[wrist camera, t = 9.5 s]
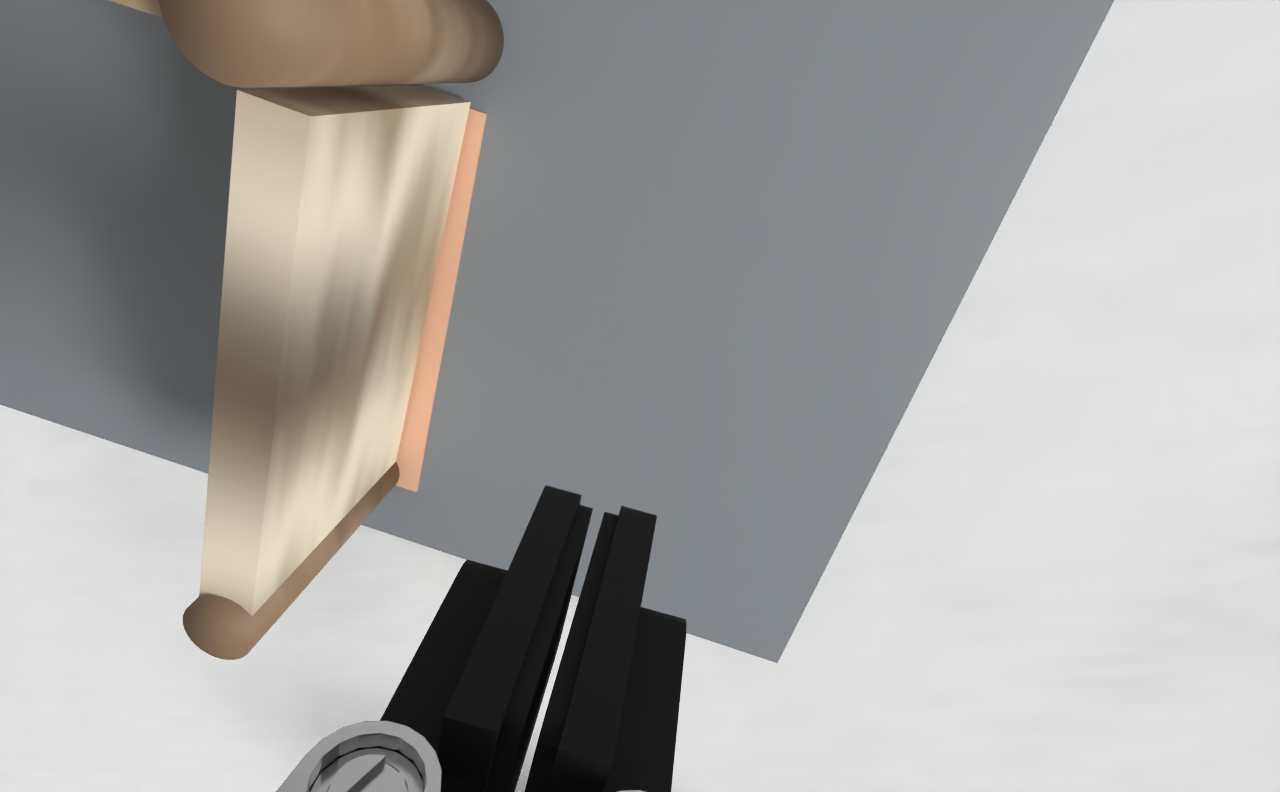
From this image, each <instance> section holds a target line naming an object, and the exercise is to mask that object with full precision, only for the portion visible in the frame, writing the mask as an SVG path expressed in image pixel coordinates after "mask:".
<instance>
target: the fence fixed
mask: <svg viewBox="0 0 1280 792" xmlns="http://www.w3.org/2000/svg"><path fill="white" fill-rule="evenodd" d="M109 1H112V2H115V3H118V4H122V5H125V6H128V7H131V8H134V9H137V10H140V11H143V12H146V13H149V14H152V15H155V16H158V17H161V18H164V21H165V24H166V26H167V28H168V30H169V32H170V34H171V36H172V38H173V40H174V41H175V43H176V45H177V46H178V47H179V49H180V50H181V51H182V53H183V54H184V55H185V56H186V58H187V59H188V60H189V61H190V62H191V63H192V64H193V65H194V66H195V67H197V68H198V69H199V70H200V71H201V72H203V73H204V74H206V75H207V76H209V77H210V78H212V79H214V80H216V81H218V82H220V83H223V84H225V85H229V86H233V87H241V88H259V87H304V86H348V85H393V84H438V83H472V82H477V81H479V80H482V79H484V78H486V77H487V76H488V75H489V74H491V73H492V72H493V70H494V69H495V68H496V66H497V65H498V63H499V61H500V58H501V56H502V52H503V46H504V35H503V29H502V25H501V22H500V19H499V17H498V15H497V13H496V11H495V10H494V8H493V7H492V6H491V4H490V3H489V2H488V1H487V0H109Z"/></svg>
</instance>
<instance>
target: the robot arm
mask: <svg viewBox="0 0 1280 792" xmlns="http://www.w3.org/2000/svg"><path fill="white" fill-rule="evenodd" d="M581 497H582V495H580V494H577V493H573V492H569V491H566V490H562V489H558V488H555V487H551V486H547V485H546V486H545V487H544V489H543V491H542V494H541V496H540V498H539V500H538V503H537V505H536V507H535V510H534V512H533V514H532V516H531V519H530V521H529V523H528V525H527V528H526V530H525V532H524V535H523V537H522V539H521V541H520V544H519V546H518V548H517V551H516V553H515V555H514V557H513V560H512V562H511V564H510V566H509V569H508V570H504V569H500V568H497V567H493V566H489V565H486V564H482V563H478V562H475V561H471V560H467V561H466V562H465V563H464V564H463V566H462V567H461V569H460V571H459V572H458V574H457V576H456V578H455V580H454V582H453V584H452V586H451V588H450V589H449V591H448V593H447V595H446V597H445V599H444V601H443V603H442V605H441V606H440V608H439V610H438V612H437V614H436V616H435V618H434V620H433V622H432V623H431V625H430V627H429V629H428V631H427V633H426V635H425V637H424V639H423V640H422V642H421V644H420V646H419V648H418V650H417V652H416V654H415V656H414V658H413V659H412V661H411V663H410V665H409V667H408V669H407V671H406V673H405V675H404V676H403V678H402V680H401V682H400V684H399V686H398V688H397V690H396V692H395V693H394V695H393V697H392V699H391V701H390V703H389V705H388V707H387V709H386V711H385V712H384V714H383V716H382V718H381V720H380V721H364V722H361V723H357V724H354V725H350V726H346V727H343V728H341V729H339V730H338V731H336V732H334V733H332V734H331V735H329V736H327V737H325V738H323V739H322V740H321V741H320V742H319V743H318V744H317V745H316V746H315V747H314V748H313V749H312V750H310V751H309V752H308V753H307V754H306V755H305V756H304V758H303V759H302V760H301V761H300V763H299V764H298V765H297V766H296V768H295V769H294V770H293V771H292V773H291V774H290V775H289V776H288V778H287V779H286V780H285V781H284V782H283V784H282V785H281V786H280V787H279V789H278V790H277V791H276V792H515V789H516V785H517V782H518V779H519V775H520V772H521V769H522V766H523V762H524V759H525V756H526V752H527V749H528V746H529V742H530V739H531V736H532V732H533V729H534V726H535V723H536V719H537V716H538V713H539V709H540V706H541V703H542V699H543V696H544V693H545V689H546V686H547V683H548V679H549V676H550V673H551V670H552V666H553V663H554V660H555V656H556V653H557V649H558V645H559V642H560V638H561V634H562V630H563V626H564V622H565V618H566V614H567V610H568V606H569V602H570V598H571V594H572V591H573V587H574V583H575V579H576V575H577V571H578V567H579V563H580V559H581V555H582V551H583V547H584V543H585V539H586V535H587V531H588V527H589V523H590V519H591V515H592V511H593V508H590V507H586V506H582V505H580V502H581ZM656 519H657V515H654V514H650V513H646V512H643V511H639V510H635V509H632V508H628V507H624V506H621V509H620V512H619V515H616V514H612V513H608V512H604V515H603V518H602V522H601V525H600V529H599V532H598V536H597V539H596V542H595V546H594V549H593V553H592V556H591V560H590V563H589V566H588V570H587V573H586V577H585V580H584V584H583V587H582V590H581V594H580V597H579V601H578V604H577V608H576V611H575V614H574V618H573V621H572V625H571V628H570V632H569V635H568V638H567V642H566V645H565V649H564V652H563V656H562V659H561V663H560V666H559V669H558V673H557V676H556V680H555V683H554V687H553V690H552V693H551V697H550V700H549V704H548V707H547V711H546V714H545V718H544V721H543V725H542V728H541V732H540V735H539V739H538V743H537V746H536V750H535V754H534V757H533V761H532V765H531V769H530V773H529V777H528V781H527V785H526V789H525V792H671V785H672V774H673V764H674V754H675V743H676V733H677V723H678V712H679V702H680V692H681V681H682V671H683V661H684V650H685V640H686V626H687V623H686V619H683V618H680V617H676V616H672V615H669V614H665V613H661V612H658V611H654V610H650V609H647V608H643V607H641V603H642V598H643V592H644V586H645V581H646V575H647V570H648V564H649V559H650V553H651V548H652V542H653V536H654V531H655V525H656Z"/></svg>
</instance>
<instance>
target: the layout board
mask: <svg viewBox="0 0 1280 792" xmlns="http://www.w3.org/2000/svg"><path fill="white" fill-rule="evenodd" d="M487 1H488V2H489V3H490V4H491V6H492V7H493V8H494V10H495V11H496V13H497V15H498V17H499V19H500V22H501V25H502V29H503V35H504V46H503V52H502V56H501V58H500V61H499V63H498V65H497V66H496V68H495V69H494V70H493V72H492V73H491V74H489V75H488V76H487V77H486V78H484V79H482V80H479V81H477V82H472V83H438V84H393V85H348V86H304V87H259V88H241V87H233V86H229V85H225V84H223V83H220V82H218V81H216V80H214V79H212V78H210V77H209V76H207V75H206V74H204V73H203V72H201V71H200V70H199V69H198V68H197V67H195V66H194V65H193V64H192V63H191V62H190V61H189V60H188V59H187V58H186V56H185V55H184V54H183V53H182V51H181V50H180V49H179V47H178V46H177V45H176V43H175V41H174V40H173V38H172V36H171V34H170V32H169V30H168V28H167V26H166V24H165V21H164V18H161V17H158V16H155V15H152V14H149V13H146V12H143V11H140V10H137V9H134V8H131V7H128V6H125V5H122V4H118V3H115V2H112V1H109V0H0V405H3V406H7V407H10V408H13V409H16V410H19V411H22V412H25V413H28V414H31V415H34V416H37V417H40V418H43V419H46V420H49V421H52V422H55V423H58V424H61V425H64V426H67V427H70V428H73V429H76V430H79V431H82V432H85V433H88V434H91V435H94V436H97V437H100V438H103V439H106V440H109V441H112V442H115V443H118V444H121V445H124V446H127V447H130V448H133V449H136V450H139V451H142V452H145V453H148V454H151V455H154V456H157V457H160V458H163V459H166V460H169V461H172V462H175V463H178V464H181V465H184V466H187V467H190V468H193V469H196V470H199V471H202V472H205V473H208V474H209V460H210V447H211V433H212V420H213V406H214V393H215V379H216V366H217V352H218V339H219V325H220V312H221V298H222V285H223V271H224V258H225V244H226V231H227V217H228V204H229V190H230V177H231V163H232V150H233V137H234V123H235V110H236V96H237V90H249V89H288V88H326V87H365V86H404V85H425V86H428V87H431V88H434V89H436V90H439V91H442V92H445V93H447V94H450V95H453V96H456V97H458V98H461V99H464V100H466V101H469V102H471V103H470V108H469V113H468V118H467V123H466V127H465V132H464V137H463V142H462V147H461V151H460V156H459V161H458V166H457V171H456V175H455V180H454V185H453V190H452V195H451V199H450V204H449V209H448V214H447V219H446V223H445V228H444V233H443V238H442V243H441V248H440V252H439V257H438V262H437V267H436V272H435V276H434V281H433V286H432V291H431V296H430V300H429V305H428V310H427V315H426V320H425V324H424V329H423V334H422V339H421V344H420V348H419V353H418V358H417V363H416V368H415V372H414V377H413V382H412V387H411V392H410V396H409V401H408V406H407V411H406V416H405V421H404V425H403V430H402V435H401V440H400V445H399V449H398V454H397V459H396V462H397V464H398V467H399V471H400V476H399V480H398V482H397V484H396V485H395V486H394V487H393V488H392V490H391V491H390V492H389V493H388V494H387V495H386V496H385V498H384V499H383V500H382V501H381V502H380V503H379V504H378V506H377V507H376V508H375V509H374V510H373V511H372V512H371V514H370V515H369V516H368V517H367V518H366V519H365V520H364V522H363V523H362V524H361V525H364V526H367V527H370V528H373V529H376V530H379V531H382V532H385V533H388V534H391V535H394V536H397V537H400V538H403V539H406V540H409V541H412V542H415V543H418V544H421V545H424V546H427V547H430V548H433V549H436V550H439V551H442V552H445V553H448V554H451V555H454V556H457V557H460V558H463V559H466V560H471V561H475V562H478V563H482V564H486V565H489V566H493V567H497V568H500V569H504V570H508V569H509V566H510V564H511V562H512V560H513V557H514V555H515V553H516V551H517V548H518V546H519V544H520V541H521V539H522V537H523V535H524V532H525V530H526V528H527V525H528V523H529V521H530V519H531V516H532V514H533V512H534V510H535V507H536V505H537V503H538V500H539V498H540V496H541V494H542V491H543V489H544V487H545V486H546V485H547V486H551V487H555V488H558V489H562V490H566V491H569V492H573V493H577V494H580V495H582V497H581V502H580V505H582V506H586V507H590V508H593V511H592V515H591V519H590V523H589V527H588V531H587V535H586V539H585V543H584V547H583V551H582V555H581V559H580V563H579V567H578V571H577V575H576V579H575V583H574V587H573V591H572V595H575V596H578V597H580V594H581V590H582V587H583V584H584V580H585V577H586V573H587V570H588V566H589V563H590V560H591V556H592V553H593V549H594V546H595V542H596V539H597V536H598V532H599V529H600V525H601V522H602V518H603V515H604V512H608V513H612V514H616V515H619V512H620V509H621V506H624V507H628V508H632V509H635V510H639V511H643V512H646V513H650V514H654V515H657V519H656V525H655V531H654V536H653V542H652V548H651V553H650V559H649V564H648V570H647V575H646V581H645V586H644V592H643V598H642V603H641V607H643V608H647V609H650V610H654V611H658V612H661V613H665V614H669V615H672V616H676V617H680V618H683V619H686V623H687V626H686V633H689V634H692V635H695V636H698V637H701V638H704V639H707V640H710V641H713V642H716V643H719V644H722V645H725V646H728V647H731V648H734V649H737V650H740V651H743V652H746V653H749V654H752V655H755V656H758V657H761V658H764V659H767V660H770V661H773V662H776V663H778V661H779V659H780V657H781V655H782V653H783V651H784V649H785V647H786V645H787V643H788V641H789V639H790V637H791V635H792V633H793V631H794V629H795V627H796V625H797V623H798V621H799V619H800V617H801V615H802V613H803V611H804V609H805V608H806V606H807V604H808V602H809V600H810V598H811V596H812V594H813V592H814V590H815V588H816V586H817V584H818V582H819V580H820V578H821V576H822V574H823V572H824V570H825V568H826V566H827V564H828V562H829V560H830V558H831V556H832V554H833V552H834V550H835V549H836V547H837V545H838V543H839V541H840V539H841V537H842V535H843V533H844V531H845V529H846V527H847V525H848V523H849V521H850V519H851V517H852V515H853V513H854V511H855V509H856V507H857V505H858V503H859V501H860V499H861V497H862V495H863V493H864V491H865V490H866V488H867V486H868V484H869V482H870V480H871V478H872V476H873V474H874V472H875V470H876V468H877V466H878V464H879V462H880V460H881V458H882V456H883V454H884V452H885V450H886V448H887V446H888V444H889V442H890V440H891V438H892V436H893V434H894V432H895V430H896V429H897V427H898V425H899V423H900V421H901V419H902V417H903V415H904V413H905V411H906V409H907V407H908V405H909V403H910V401H911V399H912V397H913V395H914V393H915V391H916V389H917V387H918V385H919V383H920V381H921V379H922V377H923V375H924V373H925V371H926V370H927V368H928V366H929V364H930V362H931V360H932V358H933V356H934V354H935V352H936V350H937V348H938V346H939V344H940V342H941V340H942V338H943V336H944V334H945V332H946V330H947V328H948V326H949V324H950V322H951V320H952V318H953V316H954V314H955V312H956V311H957V309H958V307H959V305H960V303H961V301H962V299H963V297H964V295H965V293H966V291H967V289H968V287H969V285H970V283H971V281H972V279H973V277H974V275H975V273H976V271H977V269H978V267H979V265H980V263H981V261H982V259H983V257H984V255H985V253H986V251H987V250H988V248H989V246H990V244H991V242H992V240H993V238H994V236H995V234H996V232H997V230H998V228H999V226H1000V224H1001V222H1002V220H1003V218H1004V216H1005V214H1006V212H1007V210H1008V208H1009V206H1010V204H1011V202H1012V200H1013V198H1014V196H1015V194H1016V192H1017V191H1018V189H1019V187H1020V185H1021V183H1022V181H1023V179H1024V177H1025V175H1026V173H1027V171H1028V169H1029V167H1030V165H1031V163H1032V161H1033V159H1034V157H1035V155H1036V153H1037V151H1038V149H1039V147H1040V145H1041V143H1042V141H1043V139H1044V137H1045V135H1046V133H1047V132H1048V130H1049V128H1050V126H1051V124H1052V122H1053V120H1054V118H1055V116H1056V114H1057V112H1058V110H1059V108H1060V106H1061V104H1062V102H1063V100H1064V98H1065V96H1066V94H1067V92H1068V90H1069V88H1070V86H1071V84H1072V82H1073V80H1074V78H1075V76H1076V74H1077V72H1078V71H1079V69H1080V67H1081V65H1082V63H1083V61H1084V59H1085V57H1086V55H1087V53H1088V51H1089V49H1090V47H1091V45H1092V43H1093V41H1094V39H1095V37H1096V35H1097V33H1098V31H1099V29H1100V27H1101V25H1102V23H1103V21H1104V19H1105V17H1106V15H1107V13H1108V12H1109V10H1110V8H1111V6H1112V4H1113V2H1114V0H487Z"/></svg>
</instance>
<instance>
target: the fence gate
mask: <svg viewBox="0 0 1280 792" xmlns="http://www.w3.org/2000/svg"><path fill="white" fill-rule="evenodd" d="M470 103H471V102H469V101H466V100H464V99H461V98H458V97H456V96H453V95H450V94H447V93H445V92H442V91H439V90H436V89H434V88H431V87H428V86H425V85H404V86H365V87H326V88H288V89H249V90H237V96H236V110H235V123H234V137H233V150H232V163H231V177H230V190H229V204H228V217H227V231H226V244H225V258H224V271H223V285H222V298H221V312H220V325H219V339H218V352H217V366H216V379H215V393H214V406H213V420H212V433H211V447H210V460H209V474H208V487H207V501H206V514H205V528H204V541H203V555H202V568H201V582H200V595H199V597H198V598H197V599H196V600H195V601H194V602H193V603H192V604H191V605H190V606H189V607H188V608H187V609H186V610H185V612H184V615H183V625H184V628H185V631H186V633H187V635H188V636H189V638H190V639H191V640H192V641H193V643H194V644H195V645H197V646H198V647H199V648H200V649H201V650H203V651H204V652H206V653H208V654H210V655H212V656H214V657H217V658H221V659H227V660H234V659H239V658H242V657H244V656H245V655H247V654H248V653H249V652H250V650H251V649H252V648H253V647H254V646H255V645H256V644H257V642H258V641H259V640H260V639H261V638H262V637H263V636H264V634H265V633H266V632H267V631H268V630H269V629H270V628H271V626H272V625H273V624H274V623H275V622H276V621H277V620H278V619H279V617H280V616H281V615H282V614H283V613H284V612H285V611H286V609H287V608H288V607H289V606H290V605H291V604H292V603H293V601H294V600H295V599H296V598H297V597H298V596H299V595H300V593H301V592H302V591H303V590H304V589H305V588H306V587H307V585H308V584H309V583H310V582H311V581H312V580H313V579H314V577H315V576H316V575H317V574H318V573H319V572H320V571H321V569H322V568H323V567H324V566H325V565H326V564H327V563H328V561H329V560H330V559H331V558H332V557H333V556H334V555H335V553H336V552H337V551H338V550H339V549H340V548H341V547H342V545H343V544H344V543H345V542H346V541H347V540H348V539H349V537H350V536H351V535H352V534H353V533H354V532H355V531H356V529H357V528H358V527H359V526H360V525H361V524H362V523H363V522H364V520H365V519H366V518H367V517H368V516H369V515H370V514H371V512H372V511H373V510H374V509H375V508H376V507H377V506H378V504H379V503H380V502H381V501H382V500H383V499H384V498H385V496H386V495H387V494H388V493H389V492H390V491H391V490H392V488H393V487H394V486H395V485H396V484H397V482H398V480H399V476H400V471H399V467H398V464H397V462H396V459H397V454H398V449H399V445H400V440H401V435H402V430H403V425H404V421H405V416H406V411H407V406H408V401H409V396H410V392H411V387H412V382H413V377H414V372H415V368H416V363H417V358H418V353H419V348H420V344H421V339H422V334H423V329H424V324H425V320H426V315H427V310H428V305H429V300H430V296H431V291H432V286H433V281H434V276H435V272H436V267H437V262H438V257H439V252H440V248H441V243H442V238H443V233H444V228H445V223H446V219H447V214H448V209H449V204H450V199H451V195H452V190H453V185H454V180H455V175H456V171H457V166H458V161H459V156H460V151H461V147H462V142H463V137H464V132H465V127H466V123H467V118H468V113H469V108H470Z"/></svg>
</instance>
